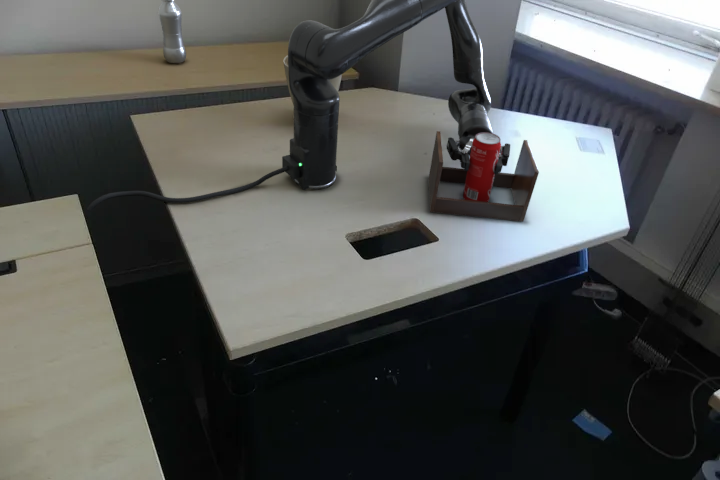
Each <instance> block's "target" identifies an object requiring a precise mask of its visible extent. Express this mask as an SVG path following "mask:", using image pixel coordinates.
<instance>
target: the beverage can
mask: <svg viewBox="0 0 720 480" xmlns="http://www.w3.org/2000/svg"><path fill="white" fill-rule="evenodd" d="M501 146H502V143H501V138H500V136H499V135H497V134H496V133H494V132H493V133H488V132H482V133H478V134H477V135H476V136H475V139H474V140H473V143H472V148H471V154H470V165H469V169H468V171H467V176H466V181H465V184H464V187H463V192H462V198H463V200H473V201H483V202H490V200H491V194H492V189H493V187H492V185H493V181H494V176H495V174H494V171H495V167H496V163H497V162H498V158H499V153H500V149H501Z"/></svg>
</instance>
